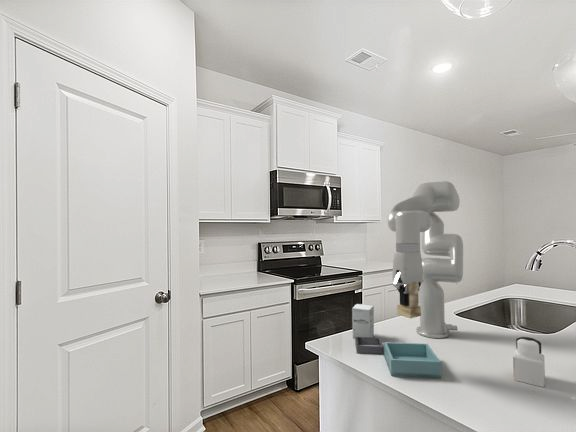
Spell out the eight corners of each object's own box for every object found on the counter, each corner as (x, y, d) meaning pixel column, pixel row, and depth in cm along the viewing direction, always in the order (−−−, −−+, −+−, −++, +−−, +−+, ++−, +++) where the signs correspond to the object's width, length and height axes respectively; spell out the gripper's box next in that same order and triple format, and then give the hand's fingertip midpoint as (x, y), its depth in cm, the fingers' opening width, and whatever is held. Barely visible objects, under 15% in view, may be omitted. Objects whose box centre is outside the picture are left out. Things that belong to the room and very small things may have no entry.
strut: (407, 311, 112) (407, 276, 112) (420, 315, 107) (420, 279, 107) (397, 314, 109) (397, 278, 109) (410, 318, 105) (410, 280, 104)
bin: (427, 358, 114) (427, 343, 114) (441, 378, 100) (440, 361, 100) (384, 356, 116) (384, 342, 116) (391, 376, 102) (391, 359, 102)
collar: (380, 344, 127) (380, 337, 127) (383, 354, 118) (383, 347, 118) (355, 343, 129) (355, 336, 129) (356, 353, 119) (356, 346, 119)
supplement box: (352, 338, 134) (351, 307, 134) (357, 332, 140) (356, 303, 141) (370, 341, 130) (369, 309, 131) (374, 335, 137) (373, 305, 137)
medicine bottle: (516, 371, 103) (515, 333, 103) (544, 378, 99) (543, 338, 99) (513, 380, 98) (512, 340, 98) (544, 388, 93) (543, 345, 93)
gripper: (414, 246, 116) (415, 298, 116) (381, 249, 107) (382, 305, 107) (433, 247, 109) (435, 302, 109) (400, 251, 101) (401, 310, 100)
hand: (409, 303), depth 108 cm, fingers closed on strut, 4 cm apart
